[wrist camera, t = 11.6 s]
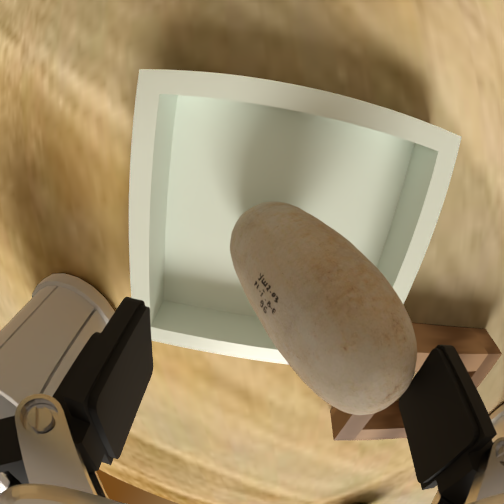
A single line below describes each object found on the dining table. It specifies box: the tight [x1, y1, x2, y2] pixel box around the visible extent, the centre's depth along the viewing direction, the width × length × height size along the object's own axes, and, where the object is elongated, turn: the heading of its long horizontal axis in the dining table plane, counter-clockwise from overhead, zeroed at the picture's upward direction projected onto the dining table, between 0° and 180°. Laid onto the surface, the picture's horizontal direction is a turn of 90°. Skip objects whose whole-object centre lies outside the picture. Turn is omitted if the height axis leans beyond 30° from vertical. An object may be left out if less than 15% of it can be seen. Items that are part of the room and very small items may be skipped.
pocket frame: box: [330, 323, 502, 440], centre depth 23 cm, size 12×12×4 cm
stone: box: [230, 201, 417, 415], centre depth 13 cm, size 6×6×12 cm
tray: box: [129, 69, 461, 364], centre depth 17 cm, size 16×16×4 cm
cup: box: [0, 273, 115, 419], centre depth 18 cm, size 10×9×12 cm
